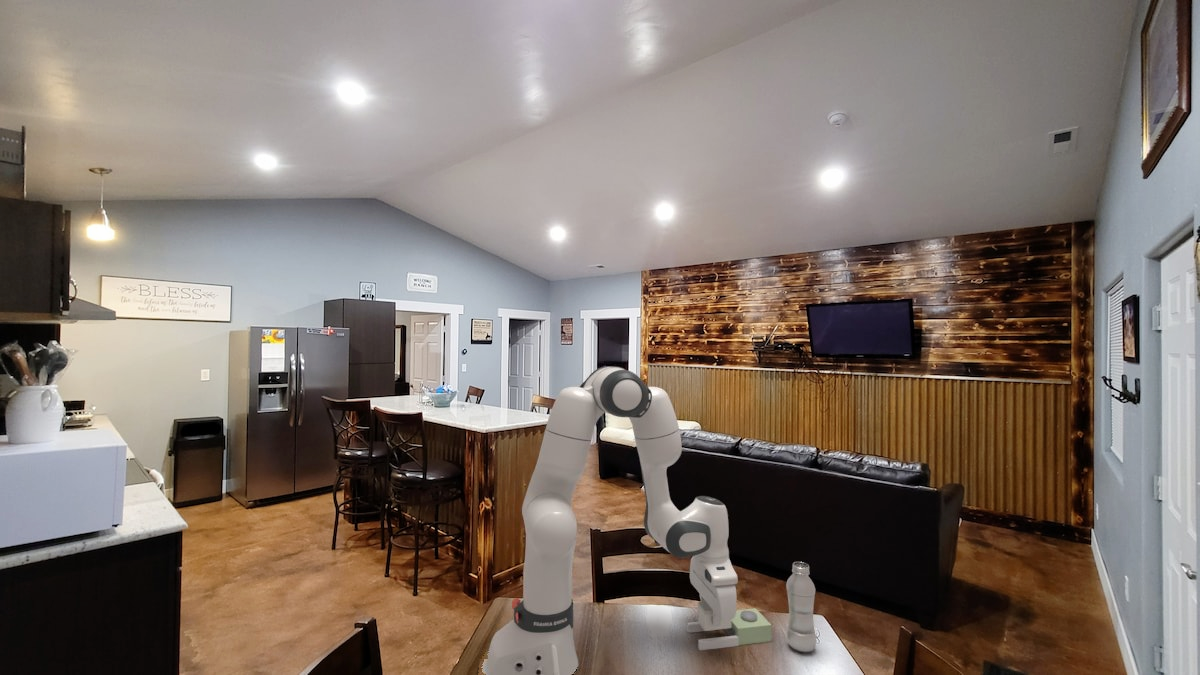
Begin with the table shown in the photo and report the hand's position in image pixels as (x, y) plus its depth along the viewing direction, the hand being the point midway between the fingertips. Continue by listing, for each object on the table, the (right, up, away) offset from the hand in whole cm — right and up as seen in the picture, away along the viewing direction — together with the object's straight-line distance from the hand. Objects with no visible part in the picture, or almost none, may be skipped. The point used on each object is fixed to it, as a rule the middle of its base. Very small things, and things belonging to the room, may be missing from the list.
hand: (711, 618), depth 124 cm
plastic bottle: (+21, -5, -4) cm, 22 cm away
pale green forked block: (+5, -5, +1) cm, 7 cm away
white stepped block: (+1, -2, 0) cm, 2 cm away
